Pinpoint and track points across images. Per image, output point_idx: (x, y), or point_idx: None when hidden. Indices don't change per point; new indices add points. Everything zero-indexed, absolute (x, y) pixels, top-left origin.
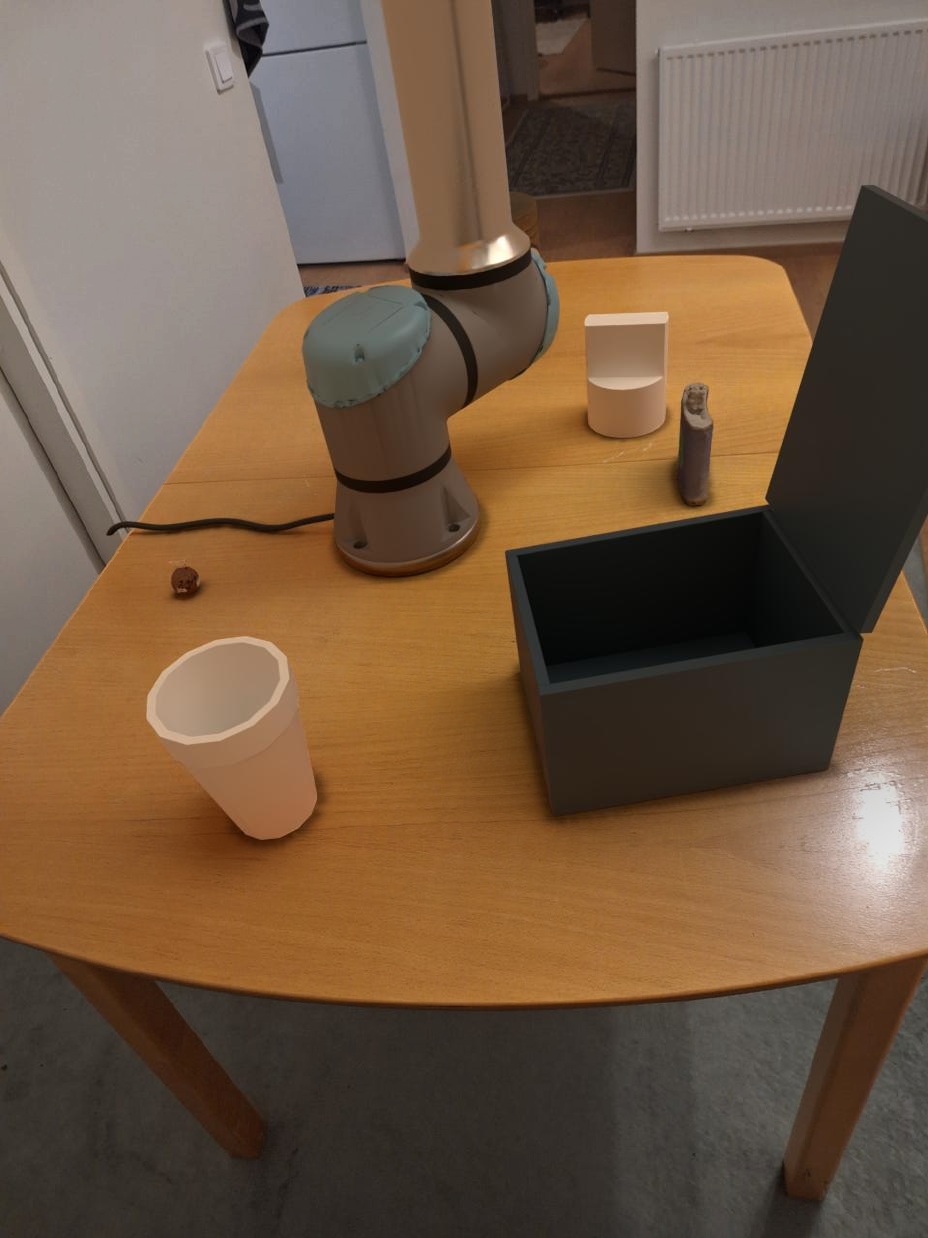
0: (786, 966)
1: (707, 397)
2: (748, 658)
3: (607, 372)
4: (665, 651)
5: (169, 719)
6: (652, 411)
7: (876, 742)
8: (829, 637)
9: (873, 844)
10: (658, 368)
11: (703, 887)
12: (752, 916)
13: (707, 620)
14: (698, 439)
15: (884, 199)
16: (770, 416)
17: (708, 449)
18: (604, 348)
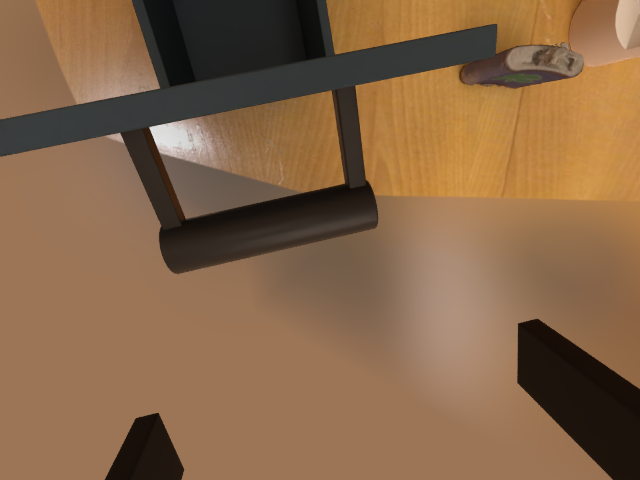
0: (61, 60)
1: (560, 77)
2: (134, 6)
3: None
4: (293, 19)
5: None
6: (589, 45)
7: (223, 148)
8: (164, 78)
9: (150, 127)
10: (636, 41)
11: (103, 19)
12: (89, 46)
13: (307, 48)
14: (499, 58)
15: (399, 42)
16: (558, 155)
17: (492, 72)
18: None
